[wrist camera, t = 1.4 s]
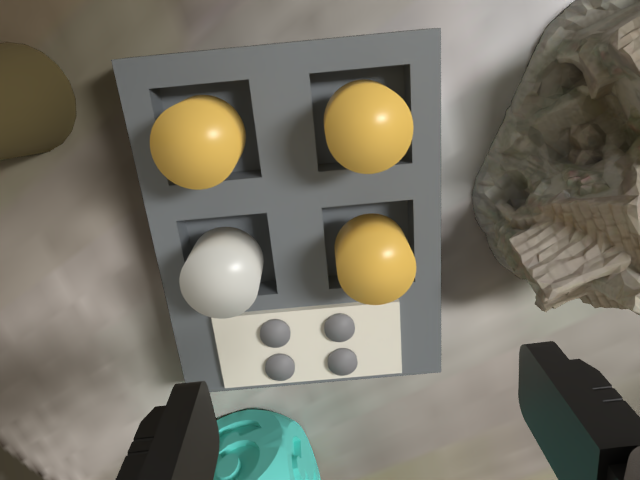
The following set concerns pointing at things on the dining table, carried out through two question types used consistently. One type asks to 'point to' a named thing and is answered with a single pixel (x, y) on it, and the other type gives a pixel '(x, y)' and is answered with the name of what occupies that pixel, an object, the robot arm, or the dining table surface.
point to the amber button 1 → (198, 141)
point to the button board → (297, 208)
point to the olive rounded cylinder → (32, 102)
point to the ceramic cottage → (571, 163)
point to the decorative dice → (263, 448)
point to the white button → (222, 273)
